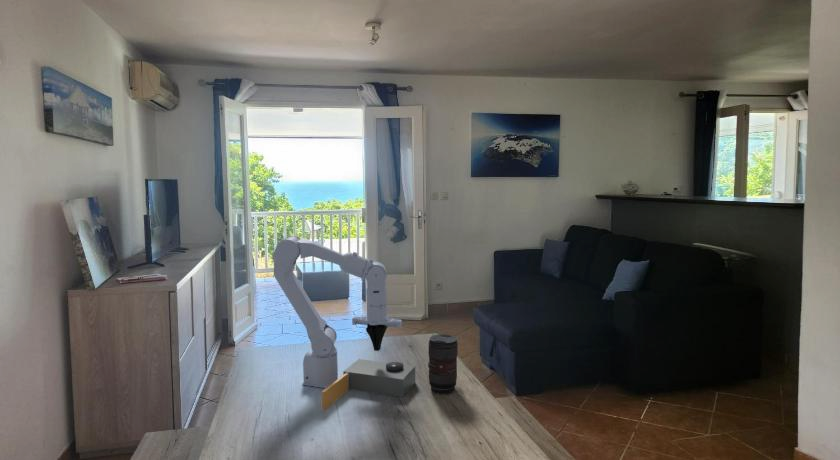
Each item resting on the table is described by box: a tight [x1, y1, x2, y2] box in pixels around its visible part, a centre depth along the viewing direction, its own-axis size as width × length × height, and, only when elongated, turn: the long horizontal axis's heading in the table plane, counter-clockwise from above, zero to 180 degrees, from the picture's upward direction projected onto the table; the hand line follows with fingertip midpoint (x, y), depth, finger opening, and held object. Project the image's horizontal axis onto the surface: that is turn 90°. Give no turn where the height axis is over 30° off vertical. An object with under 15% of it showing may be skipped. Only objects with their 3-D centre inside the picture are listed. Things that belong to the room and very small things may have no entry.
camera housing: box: [342, 358, 416, 398], centre depth 149 cm, size 18×10×6 cm, turn 71°
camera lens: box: [427, 333, 459, 395], centre depth 146 cm, size 8×8×15 cm
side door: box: [321, 372, 350, 410], centre depth 140 cm, size 14×1×5 cm, turn 159°
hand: (377, 349), depth 152 cm, fingers closed
